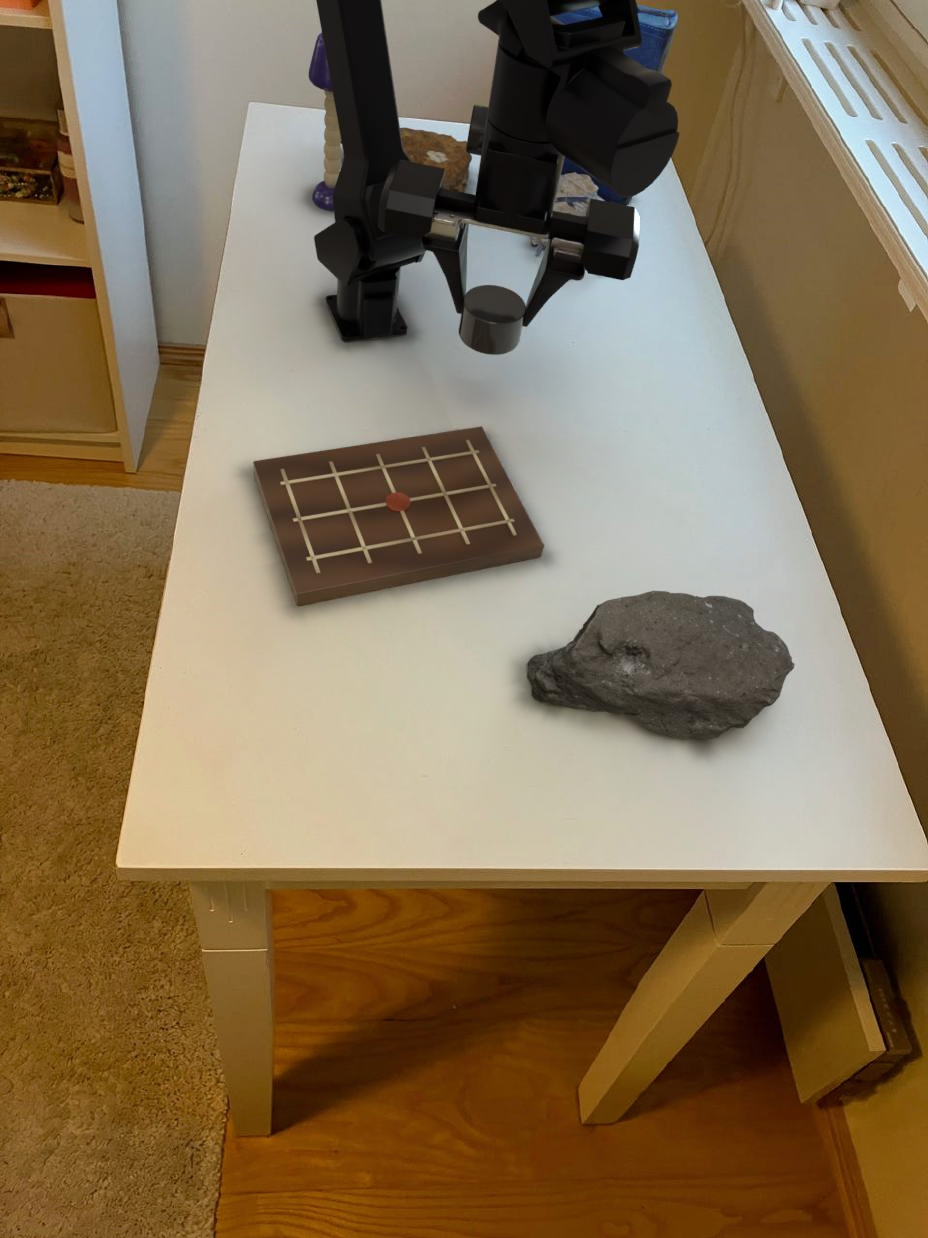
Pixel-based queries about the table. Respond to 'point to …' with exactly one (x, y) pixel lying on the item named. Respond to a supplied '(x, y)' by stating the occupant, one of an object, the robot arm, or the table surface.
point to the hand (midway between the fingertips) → (492, 316)
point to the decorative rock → (439, 155)
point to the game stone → (491, 319)
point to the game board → (393, 513)
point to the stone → (667, 664)
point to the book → (649, 54)
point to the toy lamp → (332, 133)
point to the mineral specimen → (571, 197)
